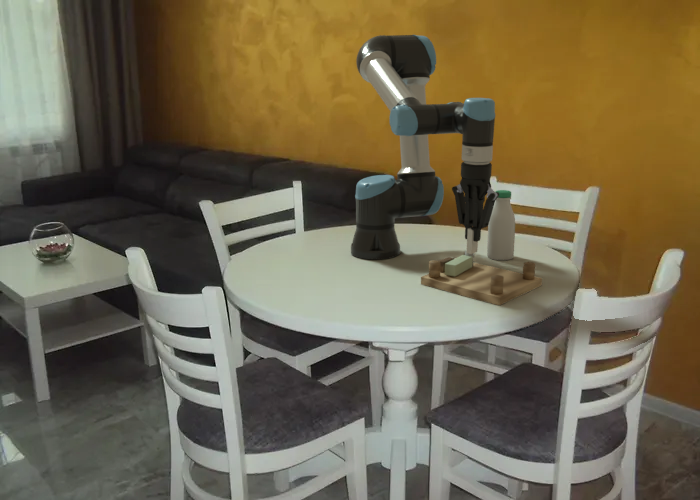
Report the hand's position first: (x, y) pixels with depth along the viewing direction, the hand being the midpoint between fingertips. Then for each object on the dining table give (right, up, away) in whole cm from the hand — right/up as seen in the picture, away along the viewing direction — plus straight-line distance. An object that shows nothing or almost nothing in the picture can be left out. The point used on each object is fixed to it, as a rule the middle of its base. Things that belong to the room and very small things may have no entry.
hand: (471, 252), depth 174 cm
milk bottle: (+13, -2, +26) cm, 29 cm away
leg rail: (-2, -5, +7) cm, 9 cm away
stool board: (+3, -9, +2) cm, 9 cm away
